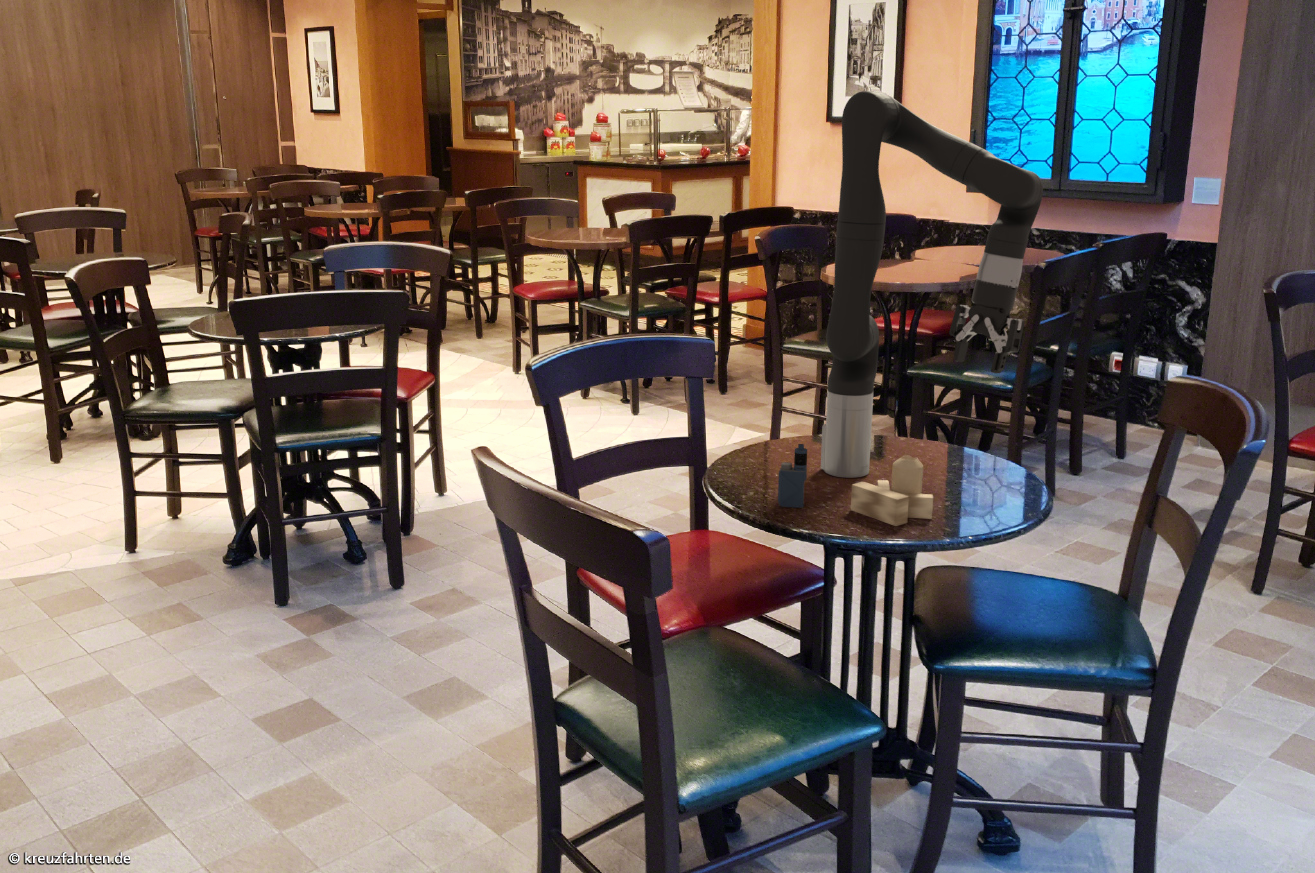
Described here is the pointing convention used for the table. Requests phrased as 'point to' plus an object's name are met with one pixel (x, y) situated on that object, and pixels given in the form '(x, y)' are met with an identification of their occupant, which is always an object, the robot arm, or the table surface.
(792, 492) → the vaping device
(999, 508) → the table surface
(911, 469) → the candle
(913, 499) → the letter k block
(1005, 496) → the table surface
